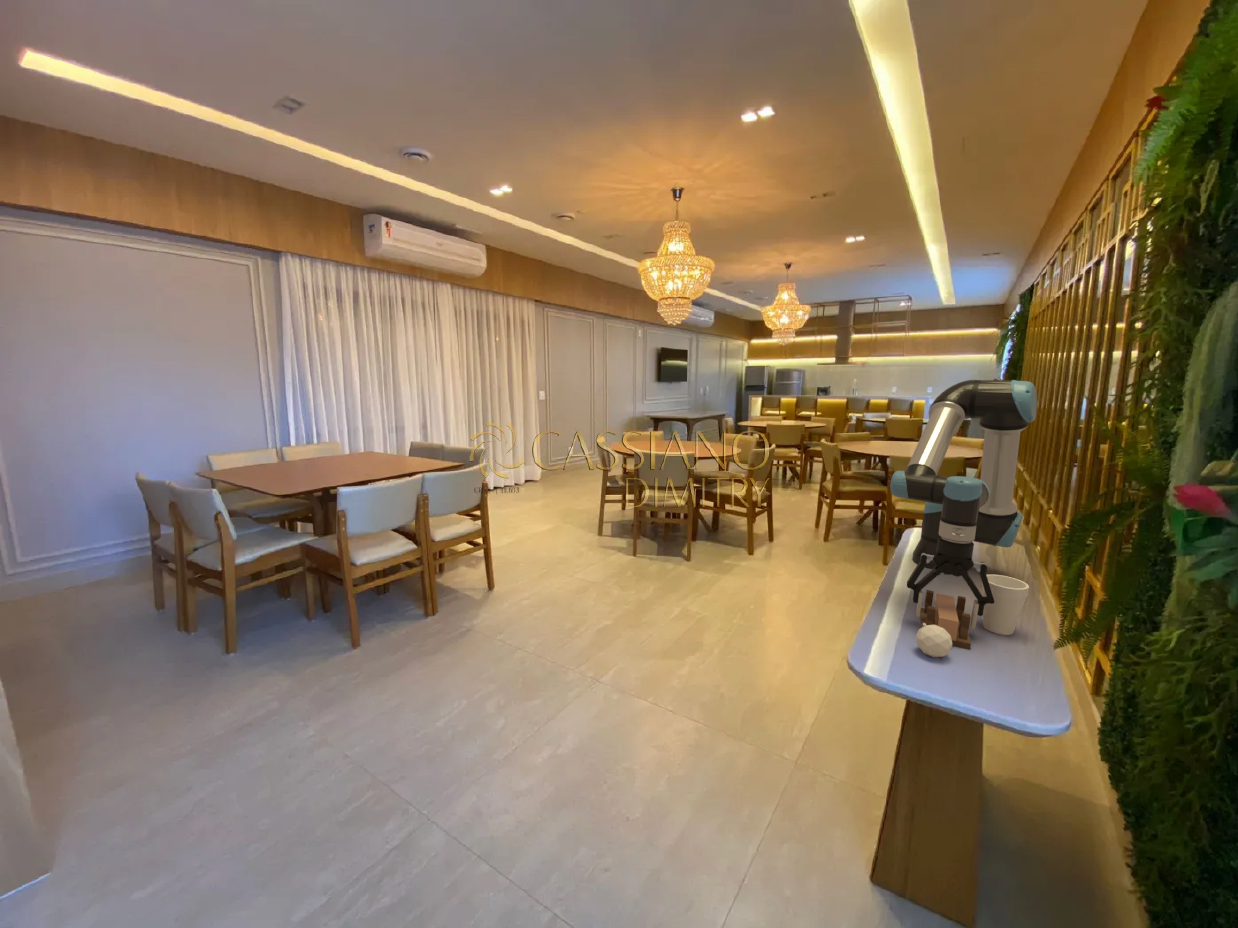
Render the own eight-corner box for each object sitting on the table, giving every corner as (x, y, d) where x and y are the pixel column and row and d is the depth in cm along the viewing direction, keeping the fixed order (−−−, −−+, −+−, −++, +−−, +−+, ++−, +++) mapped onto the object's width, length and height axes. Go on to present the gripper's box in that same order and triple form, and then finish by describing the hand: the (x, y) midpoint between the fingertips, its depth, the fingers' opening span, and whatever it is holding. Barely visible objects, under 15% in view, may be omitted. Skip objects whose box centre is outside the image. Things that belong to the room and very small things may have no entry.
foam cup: (1008, 641, 123) (1016, 592, 121) (968, 624, 131) (975, 578, 129) (1028, 632, 127) (1036, 585, 125) (988, 617, 136) (995, 572, 133)
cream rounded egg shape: (932, 664, 113) (912, 630, 115) (924, 659, 120) (905, 627, 122) (963, 653, 111) (942, 618, 114) (953, 648, 118) (934, 615, 121)
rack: (920, 612, 138) (923, 586, 136) (963, 621, 133) (967, 595, 132) (921, 638, 124) (925, 610, 123) (970, 649, 119) (974, 620, 118)
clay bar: (956, 640, 120) (958, 621, 119) (936, 636, 122) (939, 617, 121) (951, 613, 134) (953, 596, 133) (933, 610, 136) (935, 593, 135)
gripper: (901, 535, 127) (892, 615, 131) (1018, 552, 115) (1004, 639, 119) (901, 527, 133) (892, 603, 137) (1012, 542, 122) (999, 625, 126)
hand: (944, 620), depth 128 cm, fingers open, 11 cm apart
